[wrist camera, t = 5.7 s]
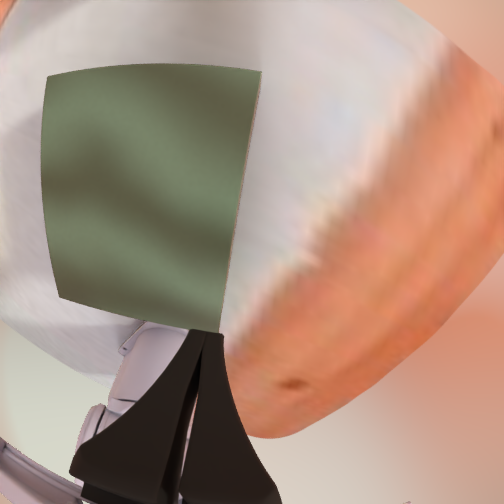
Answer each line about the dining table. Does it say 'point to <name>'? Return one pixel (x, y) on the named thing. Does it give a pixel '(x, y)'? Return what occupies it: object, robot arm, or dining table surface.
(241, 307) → the dining table surface
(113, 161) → the sage green tile
